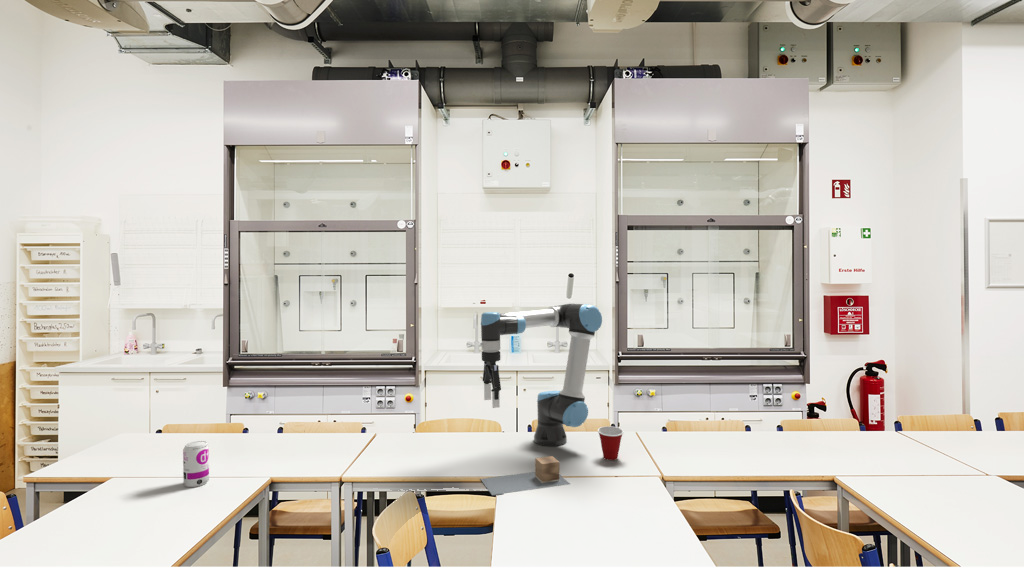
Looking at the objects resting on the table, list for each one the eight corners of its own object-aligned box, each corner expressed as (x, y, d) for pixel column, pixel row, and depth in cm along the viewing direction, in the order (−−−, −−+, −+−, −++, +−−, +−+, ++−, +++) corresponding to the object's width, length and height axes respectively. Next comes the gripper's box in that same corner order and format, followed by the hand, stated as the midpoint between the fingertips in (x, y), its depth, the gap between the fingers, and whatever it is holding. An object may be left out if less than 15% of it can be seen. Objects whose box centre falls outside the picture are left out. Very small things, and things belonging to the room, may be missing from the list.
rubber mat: (553, 470, 216) (553, 469, 216) (570, 484, 201) (570, 484, 201) (480, 479, 207) (480, 478, 207) (492, 495, 191) (492, 494, 191)
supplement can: (214, 481, 207) (213, 441, 207) (195, 489, 199) (194, 448, 199) (197, 478, 209) (197, 439, 209) (178, 486, 202) (177, 446, 201)
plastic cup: (600, 462, 224) (600, 433, 224) (595, 454, 235) (595, 426, 234) (626, 462, 225) (626, 433, 224) (620, 453, 235) (619, 425, 235)
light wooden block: (552, 474, 211) (552, 456, 211) (559, 480, 204) (559, 461, 204) (535, 476, 209) (535, 458, 209) (542, 482, 202) (541, 464, 202)
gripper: (475, 347, 230) (475, 397, 230) (489, 355, 206) (490, 411, 206) (492, 346, 232) (493, 396, 232) (508, 354, 208) (509, 410, 209)
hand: (491, 403), depth 219 cm, fingers open, 13 cm apart
